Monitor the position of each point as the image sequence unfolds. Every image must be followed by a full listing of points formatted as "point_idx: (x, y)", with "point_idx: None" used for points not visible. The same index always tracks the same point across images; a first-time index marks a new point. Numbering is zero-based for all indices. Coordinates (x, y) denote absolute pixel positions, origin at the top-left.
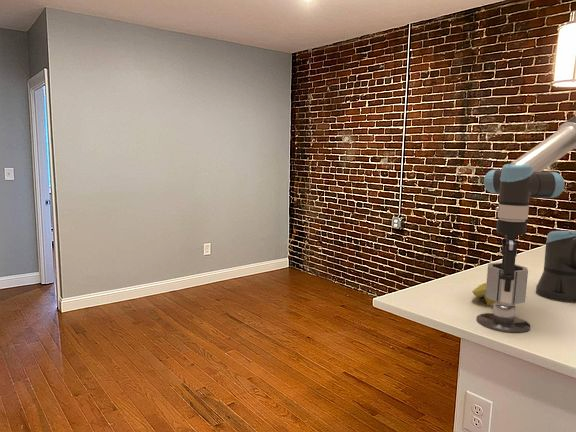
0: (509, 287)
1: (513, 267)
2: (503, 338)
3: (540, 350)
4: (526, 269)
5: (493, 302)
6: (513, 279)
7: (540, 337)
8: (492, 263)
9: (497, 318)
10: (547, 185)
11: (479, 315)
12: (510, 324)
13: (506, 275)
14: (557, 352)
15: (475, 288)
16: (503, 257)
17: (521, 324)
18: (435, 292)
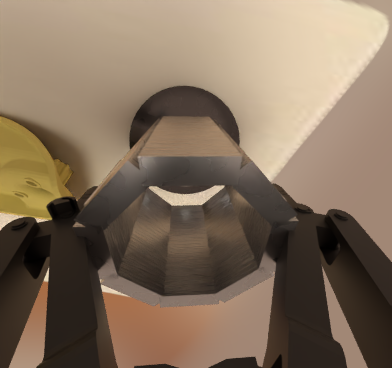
0: (286, 195)
1: (384, 264)
2: (272, 148)
3: (322, 79)
4: (204, 164)
5: (66, 168)
6: (340, 211)
7: (244, 68)
8: (143, 297)
9: None
10: None
11: (169, 189)
12: None
13: (339, 245)
14: (330, 38)
15: (9, 213)
16: (104, 311)
17: (184, 108)
18: None
